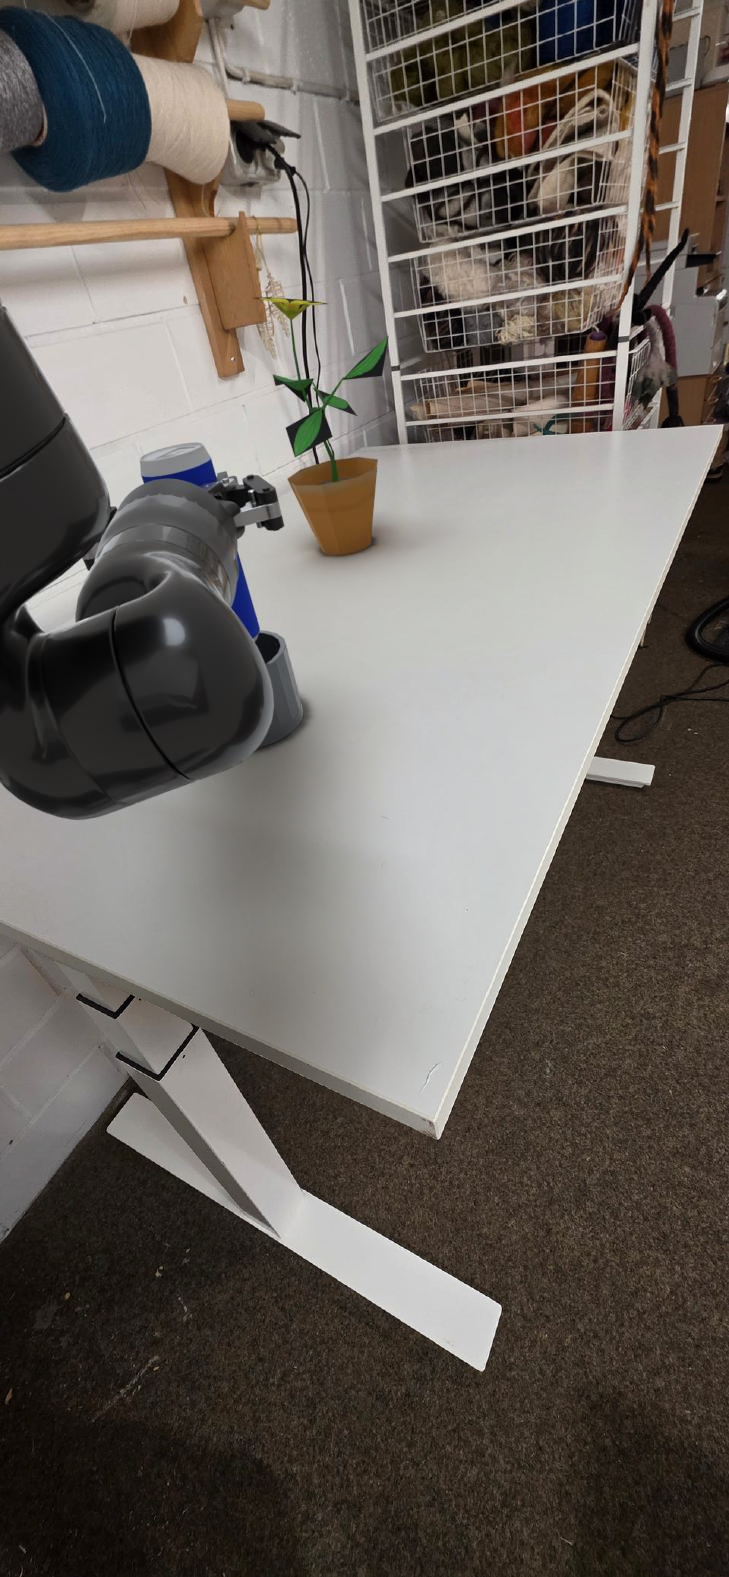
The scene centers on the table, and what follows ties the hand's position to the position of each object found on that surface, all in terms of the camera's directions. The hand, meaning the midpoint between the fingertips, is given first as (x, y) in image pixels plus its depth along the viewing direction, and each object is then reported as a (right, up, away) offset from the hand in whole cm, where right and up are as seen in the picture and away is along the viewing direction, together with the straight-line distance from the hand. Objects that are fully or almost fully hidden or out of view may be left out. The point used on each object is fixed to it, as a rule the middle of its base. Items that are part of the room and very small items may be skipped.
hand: (189, 494), depth 52 cm
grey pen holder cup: (+3, -17, +10) cm, 20 cm away
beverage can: (+2, -11, +5) cm, 12 cm away
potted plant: (+11, +12, +44) cm, 47 cm away
